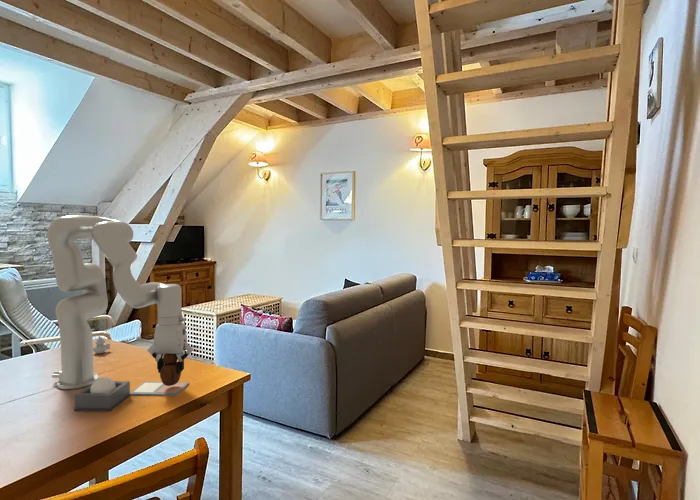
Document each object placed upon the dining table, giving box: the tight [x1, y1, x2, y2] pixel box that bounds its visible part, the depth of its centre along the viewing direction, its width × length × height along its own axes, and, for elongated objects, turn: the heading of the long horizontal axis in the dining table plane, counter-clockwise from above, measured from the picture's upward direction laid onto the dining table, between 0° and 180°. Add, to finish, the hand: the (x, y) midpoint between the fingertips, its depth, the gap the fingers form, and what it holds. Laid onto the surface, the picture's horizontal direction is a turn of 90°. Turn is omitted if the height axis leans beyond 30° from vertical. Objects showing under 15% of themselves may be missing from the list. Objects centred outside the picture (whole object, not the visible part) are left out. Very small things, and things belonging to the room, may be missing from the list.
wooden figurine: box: [159, 353, 182, 386], centre depth 140 cm, size 7×6×15 cm
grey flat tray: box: [130, 381, 190, 397], centre depth 141 cm, size 16×10×1 cm, turn 89°
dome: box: [90, 376, 116, 393], centre depth 130 cm, size 7×7×7 cm
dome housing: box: [73, 380, 131, 412], centre depth 130 cm, size 11×11×5 cm
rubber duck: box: [93, 335, 111, 355], centre depth 179 cm, size 5×7×8 cm
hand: (170, 371), depth 141 cm, fingers closed on wooden figurine, 5 cm apart
